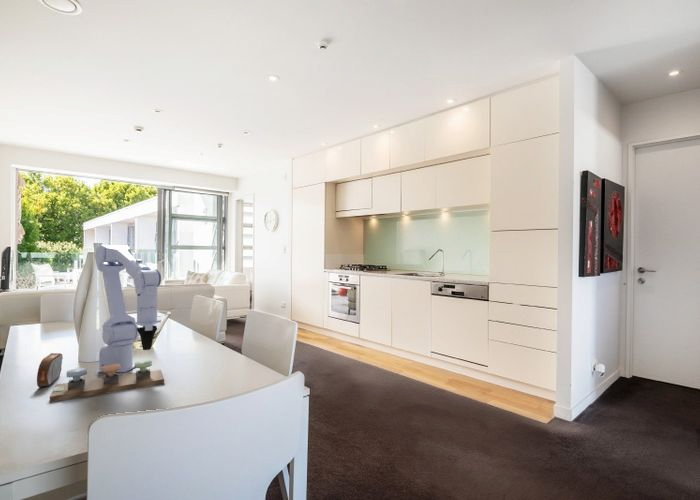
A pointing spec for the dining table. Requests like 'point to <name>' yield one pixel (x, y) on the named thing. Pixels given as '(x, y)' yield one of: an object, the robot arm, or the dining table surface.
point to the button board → (106, 385)
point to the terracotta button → (111, 369)
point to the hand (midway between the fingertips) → (146, 349)
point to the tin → (49, 369)
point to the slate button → (76, 373)
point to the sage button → (143, 365)
